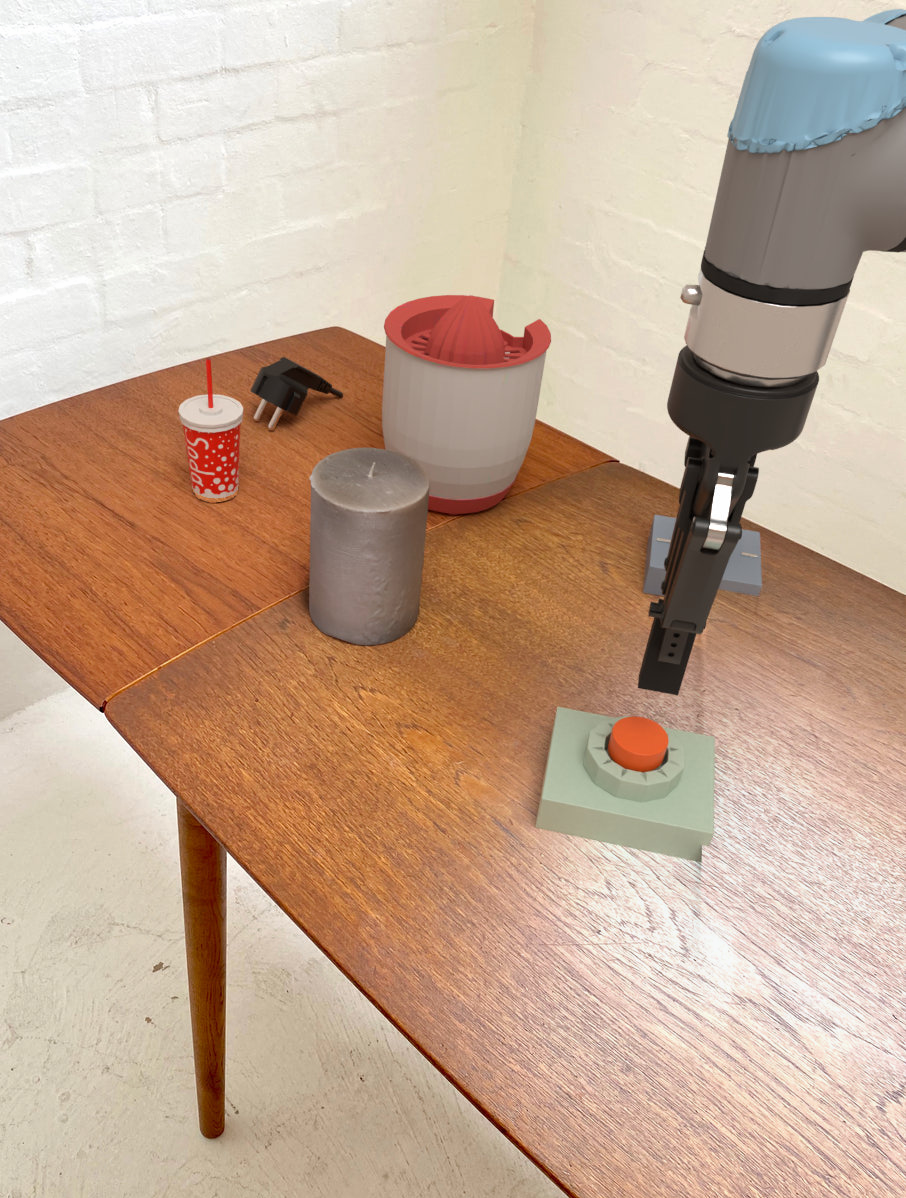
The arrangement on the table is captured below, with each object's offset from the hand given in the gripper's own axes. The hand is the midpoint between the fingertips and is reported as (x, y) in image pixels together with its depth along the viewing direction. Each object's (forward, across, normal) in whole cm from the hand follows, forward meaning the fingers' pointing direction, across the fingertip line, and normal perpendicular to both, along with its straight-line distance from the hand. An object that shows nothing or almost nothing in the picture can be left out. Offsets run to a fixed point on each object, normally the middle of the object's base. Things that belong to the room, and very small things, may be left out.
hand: (658, 684), depth 75 cm
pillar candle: (+11, -16, -24) cm, 31 cm away
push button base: (+11, 0, 0) cm, 11 cm away
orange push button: (+7, 0, 0) cm, 7 cm away
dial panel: (+11, -31, +5) cm, 33 cm away
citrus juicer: (+11, -40, -20) cm, 46 cm away
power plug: (+11, -50, -40) cm, 64 cm away
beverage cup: (+11, -31, -43) cm, 54 cm away
